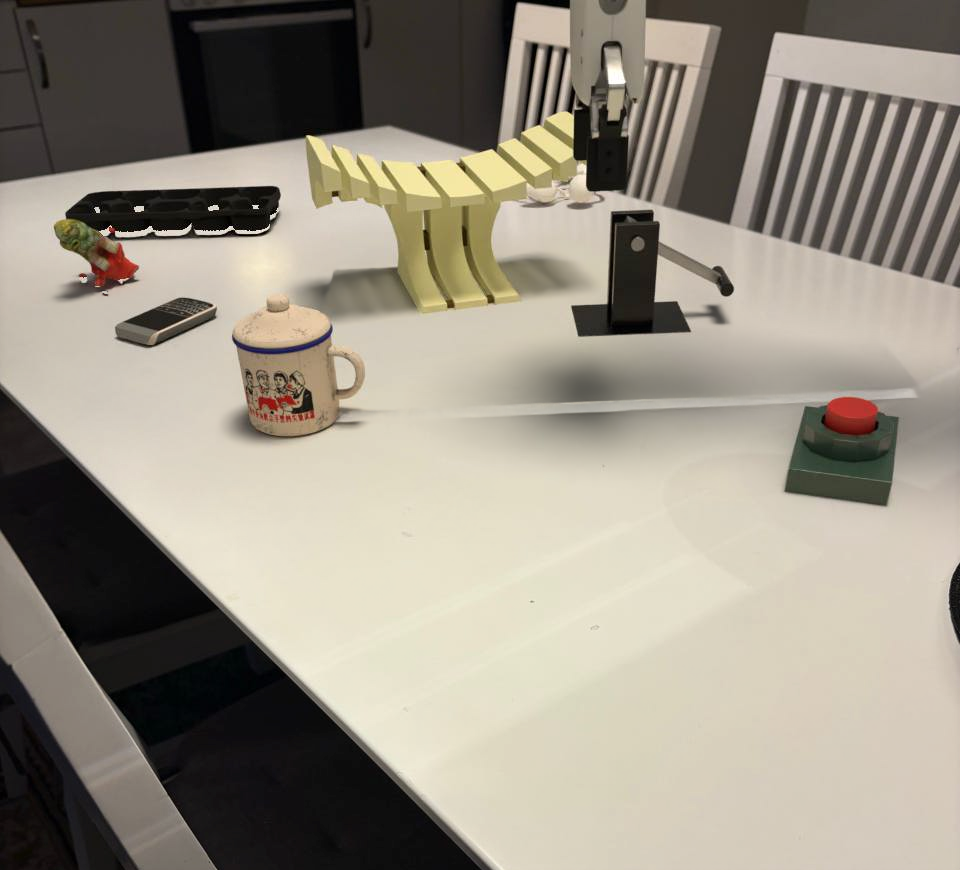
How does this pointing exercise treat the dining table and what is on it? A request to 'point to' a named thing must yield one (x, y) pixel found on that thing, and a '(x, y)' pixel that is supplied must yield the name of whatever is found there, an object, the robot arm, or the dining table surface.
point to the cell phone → (165, 320)
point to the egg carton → (179, 209)
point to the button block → (843, 460)
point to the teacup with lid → (291, 368)
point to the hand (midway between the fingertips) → (598, 173)
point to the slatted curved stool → (448, 207)
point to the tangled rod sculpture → (575, 190)
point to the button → (851, 416)
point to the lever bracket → (631, 284)
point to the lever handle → (695, 267)
